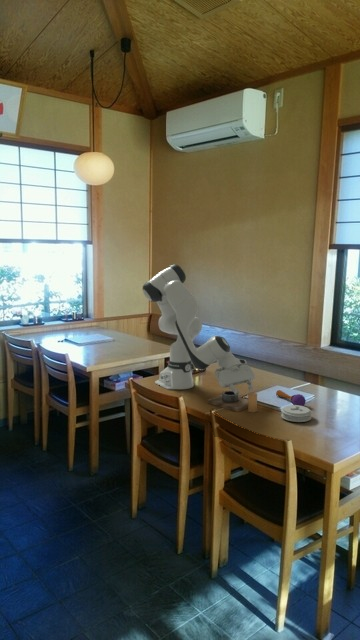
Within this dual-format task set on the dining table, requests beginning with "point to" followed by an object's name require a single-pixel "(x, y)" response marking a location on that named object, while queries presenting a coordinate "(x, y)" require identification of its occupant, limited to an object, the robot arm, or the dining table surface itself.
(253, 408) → the plug
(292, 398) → the kendama
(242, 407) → the board
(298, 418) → the lid
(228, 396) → the grey stone bowl
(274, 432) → the dining table surface
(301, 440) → the dining table surface
